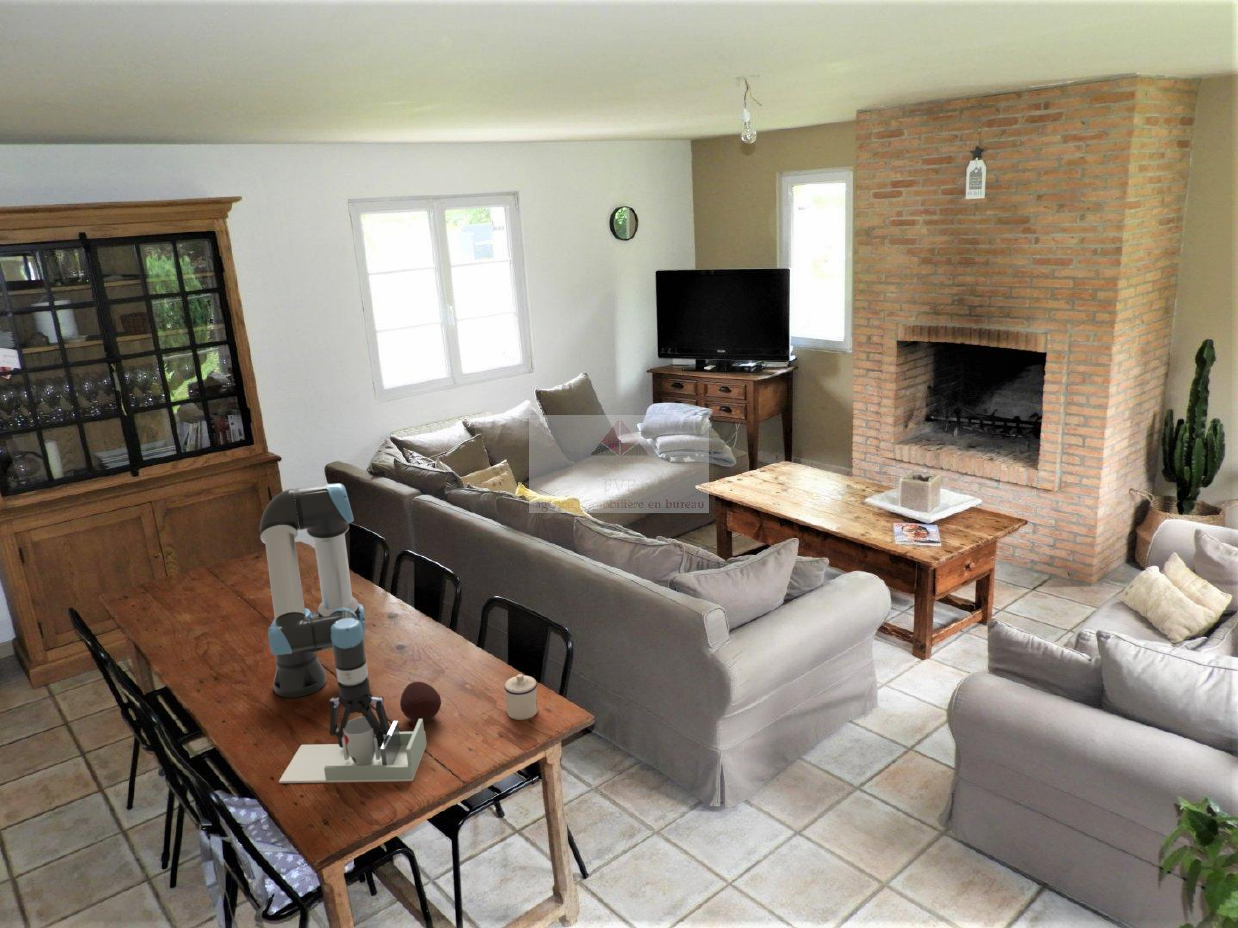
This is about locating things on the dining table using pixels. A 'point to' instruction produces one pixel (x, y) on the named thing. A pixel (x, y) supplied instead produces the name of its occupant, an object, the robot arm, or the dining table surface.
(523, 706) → the teacup with lid
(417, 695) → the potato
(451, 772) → the dining table surface
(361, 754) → the cup
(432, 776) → the dining table surface
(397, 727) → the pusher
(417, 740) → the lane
